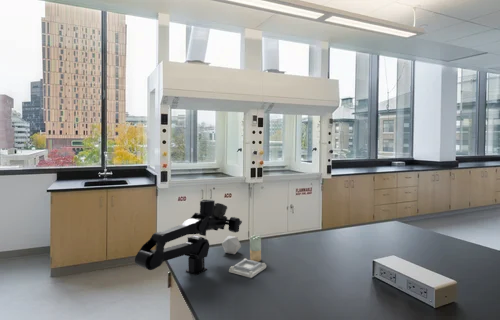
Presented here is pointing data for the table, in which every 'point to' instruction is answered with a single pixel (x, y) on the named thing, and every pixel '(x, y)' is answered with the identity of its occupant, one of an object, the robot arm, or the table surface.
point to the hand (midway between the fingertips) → (234, 220)
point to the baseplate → (247, 268)
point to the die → (231, 244)
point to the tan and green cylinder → (255, 248)
